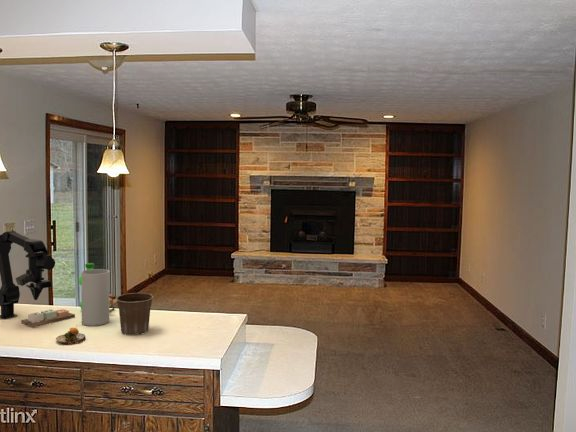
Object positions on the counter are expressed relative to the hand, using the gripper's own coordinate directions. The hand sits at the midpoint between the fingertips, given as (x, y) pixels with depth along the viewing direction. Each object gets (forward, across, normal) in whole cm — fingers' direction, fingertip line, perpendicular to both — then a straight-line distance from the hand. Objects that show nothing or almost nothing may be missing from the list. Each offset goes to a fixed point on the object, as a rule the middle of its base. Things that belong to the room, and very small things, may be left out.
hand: (35, 299), depth 236 cm
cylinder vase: (+12, +20, +18) cm, 30 cm away
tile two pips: (+10, 0, +6) cm, 12 cm away
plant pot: (+11, +45, +21) cm, 51 cm away
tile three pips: (+11, 0, +13) cm, 17 cm away
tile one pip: (+10, 0, 0) cm, 10 cm away
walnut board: (+11, 0, +6) cm, 13 cm away
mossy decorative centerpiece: (+12, +34, -4) cm, 36 cm away
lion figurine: (+12, +11, +32) cm, 36 cm away
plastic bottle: (+12, +1, +28) cm, 31 cm away
